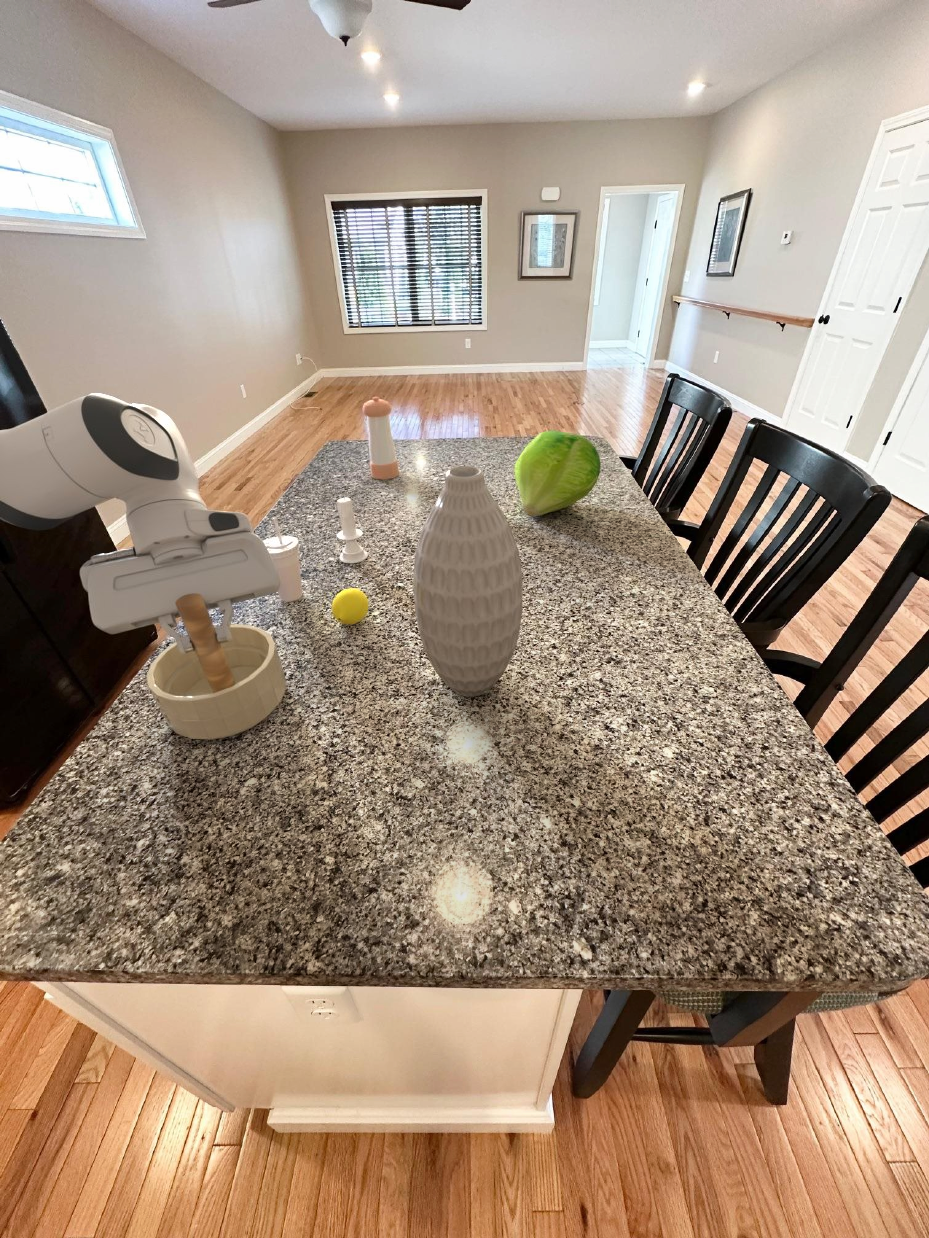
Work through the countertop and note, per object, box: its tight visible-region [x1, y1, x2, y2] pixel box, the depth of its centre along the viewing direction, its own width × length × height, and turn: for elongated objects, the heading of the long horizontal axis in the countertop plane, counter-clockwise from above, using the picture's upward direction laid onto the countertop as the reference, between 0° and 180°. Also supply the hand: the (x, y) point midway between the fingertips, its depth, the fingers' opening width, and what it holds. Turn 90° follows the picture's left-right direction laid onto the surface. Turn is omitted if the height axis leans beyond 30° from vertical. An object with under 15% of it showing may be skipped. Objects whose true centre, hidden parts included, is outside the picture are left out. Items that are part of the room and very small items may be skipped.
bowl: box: [146, 623, 287, 740], centre depth 64 cm, size 14×14×7 cm
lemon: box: [331, 587, 370, 626], centre depth 79 cm, size 7×5×5 cm
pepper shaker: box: [362, 396, 400, 480], centre depth 130 cm, size 7×7×19 cm
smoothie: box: [262, 517, 303, 603], centre depth 83 cm, size 6×6×14 cm
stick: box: [175, 593, 236, 693], centre depth 61 cm, size 3×3×14 cm
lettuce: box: [514, 429, 602, 517], centre depth 110 cm, size 17×20×17 cm
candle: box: [336, 497, 369, 564], centre depth 94 cm, size 5×5×12 cm
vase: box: [412, 465, 524, 697], centre depth 60 cm, size 13×13×28 cm
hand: (207, 646), depth 60 cm, fingers closed on stick, 3 cm apart
